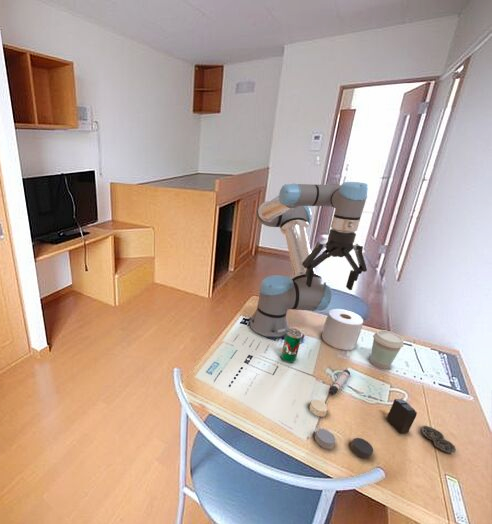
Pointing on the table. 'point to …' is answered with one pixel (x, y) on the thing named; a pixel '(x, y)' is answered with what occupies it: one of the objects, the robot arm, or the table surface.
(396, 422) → the ink cartridge
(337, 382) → the marker
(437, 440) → the corroded twin loop
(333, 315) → the toilet paper roll
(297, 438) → the table surface
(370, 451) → the charcoal cap
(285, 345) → the soda can
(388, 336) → the coffee cup
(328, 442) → the grey cap
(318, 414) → the cream cap
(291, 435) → the table surface
